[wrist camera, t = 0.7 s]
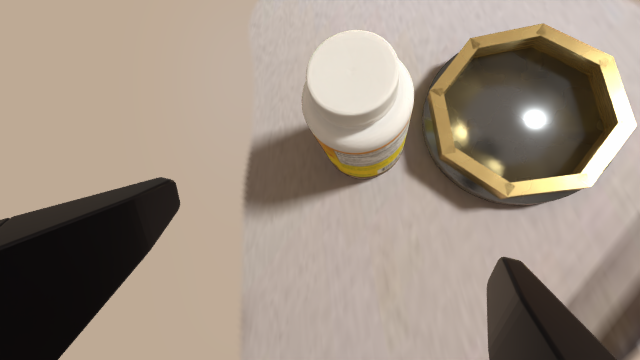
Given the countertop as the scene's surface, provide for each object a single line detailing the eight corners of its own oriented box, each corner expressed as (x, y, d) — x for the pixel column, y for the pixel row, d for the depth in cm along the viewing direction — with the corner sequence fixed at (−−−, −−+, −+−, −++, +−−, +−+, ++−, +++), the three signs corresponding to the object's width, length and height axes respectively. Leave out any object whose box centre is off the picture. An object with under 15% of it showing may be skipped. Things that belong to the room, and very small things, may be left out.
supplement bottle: (329, 107, 24) (293, 15, 14) (404, 107, 23) (422, 6, 13) (323, 179, 23) (280, 133, 13) (402, 183, 22) (419, 135, 12)
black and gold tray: (636, 192, 19) (668, 186, 17) (438, 215, 21) (445, 212, 19) (582, 27, 22) (604, 3, 19) (410, 61, 23) (412, 43, 21)
